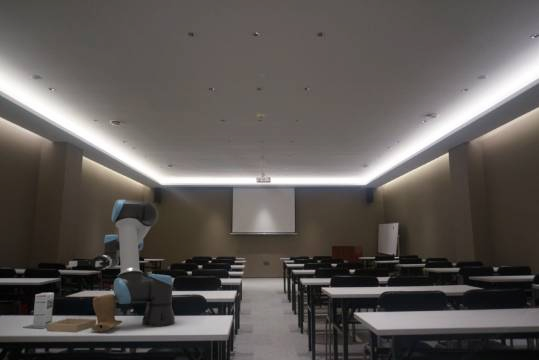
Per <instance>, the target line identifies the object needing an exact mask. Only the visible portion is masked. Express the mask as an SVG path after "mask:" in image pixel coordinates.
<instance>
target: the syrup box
mask: <svg viewBox="0 0 539 360" xmlns="http://www.w3.org/2000/svg"><path fill="white" fill-rule="evenodd" d="M54 297H55V292H41V293H37V294H35V297H34V298H35V299H34V308H33V319H32V321H33V322H32V325H33V326H46V325H48V323H52V322H53V313H54V311H53V310H54V300H55V299H54Z"/></svg>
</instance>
